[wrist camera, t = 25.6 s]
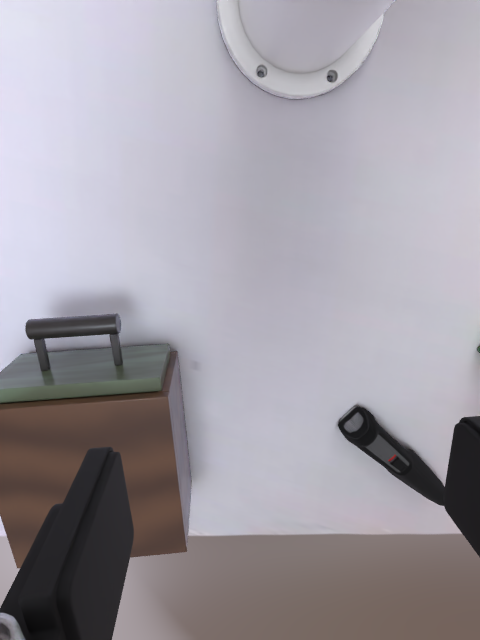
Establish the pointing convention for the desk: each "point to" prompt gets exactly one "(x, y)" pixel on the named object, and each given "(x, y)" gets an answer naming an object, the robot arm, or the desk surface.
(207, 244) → the desk surface
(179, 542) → the cabinet
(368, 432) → the electric trimmer
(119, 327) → the drawer
